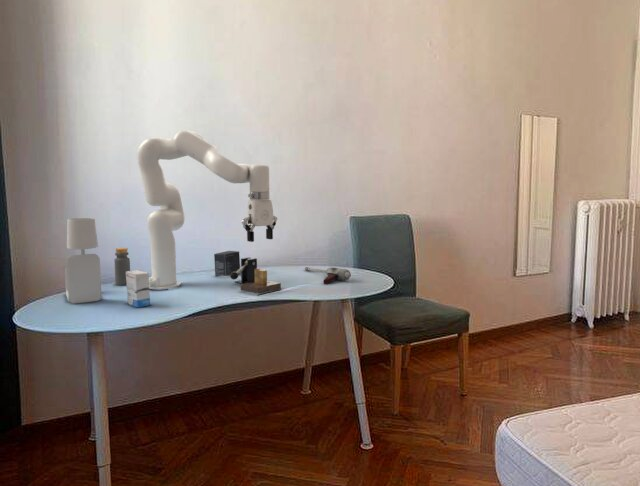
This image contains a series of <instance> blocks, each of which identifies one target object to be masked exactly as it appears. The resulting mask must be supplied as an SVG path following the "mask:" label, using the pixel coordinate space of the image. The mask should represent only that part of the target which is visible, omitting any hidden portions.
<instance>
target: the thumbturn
mask: <svg viewBox="0 0 640 486" xmlns="http://www.w3.org/2000/svg"><path fill="white" fill-rule="evenodd" d="M267 280H268V270H266V269H261V268H258V267H257V269H255V283H257V284H262V285H265V284H267Z"/></svg>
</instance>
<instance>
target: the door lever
mask: <svg viewBox="0 0 640 486" xmlns="http://www.w3.org/2000/svg"><path fill="white" fill-rule="evenodd" d="M247 258H248V257H247ZM250 258H251V257H250ZM250 258H248V259H250ZM248 259H247V260H248ZM247 260H246V261H245V262H244V263H245V265H243V266H242V267H241V266H240V269H239V270H238V271H236V272H232V273H231V274H230V275H229V277H230V279H231V280H234V281H235V280H237V279H238V277H239V274H241V271H243V270H244V269H245V268H246V267H247Z"/></svg>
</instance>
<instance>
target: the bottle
mask: <svg viewBox="0 0 640 486" xmlns="http://www.w3.org/2000/svg"><path fill="white" fill-rule="evenodd" d="M128 249H129V248H128V247H117V248H116V247H115V253H114V255H115V257H116V258H114V262H113V263H114V280H115V281H114V282H115V285H116V286H127V283H126V272H127V271H131V260H130V258H129V257H128V256H129V252H128Z"/></svg>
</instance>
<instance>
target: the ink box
mask: <svg viewBox="0 0 640 486" xmlns="http://www.w3.org/2000/svg"><path fill="white" fill-rule="evenodd" d="M149 277H150V276H149V273H148V272H146V271H142V270H139V269H136V270H130V271H127V272H126V283H127V285H126V294H127V304H128V305H130V306H133V307H135V308H144V307H148V306H151V295H150V293H151V292H150V289H149Z"/></svg>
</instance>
